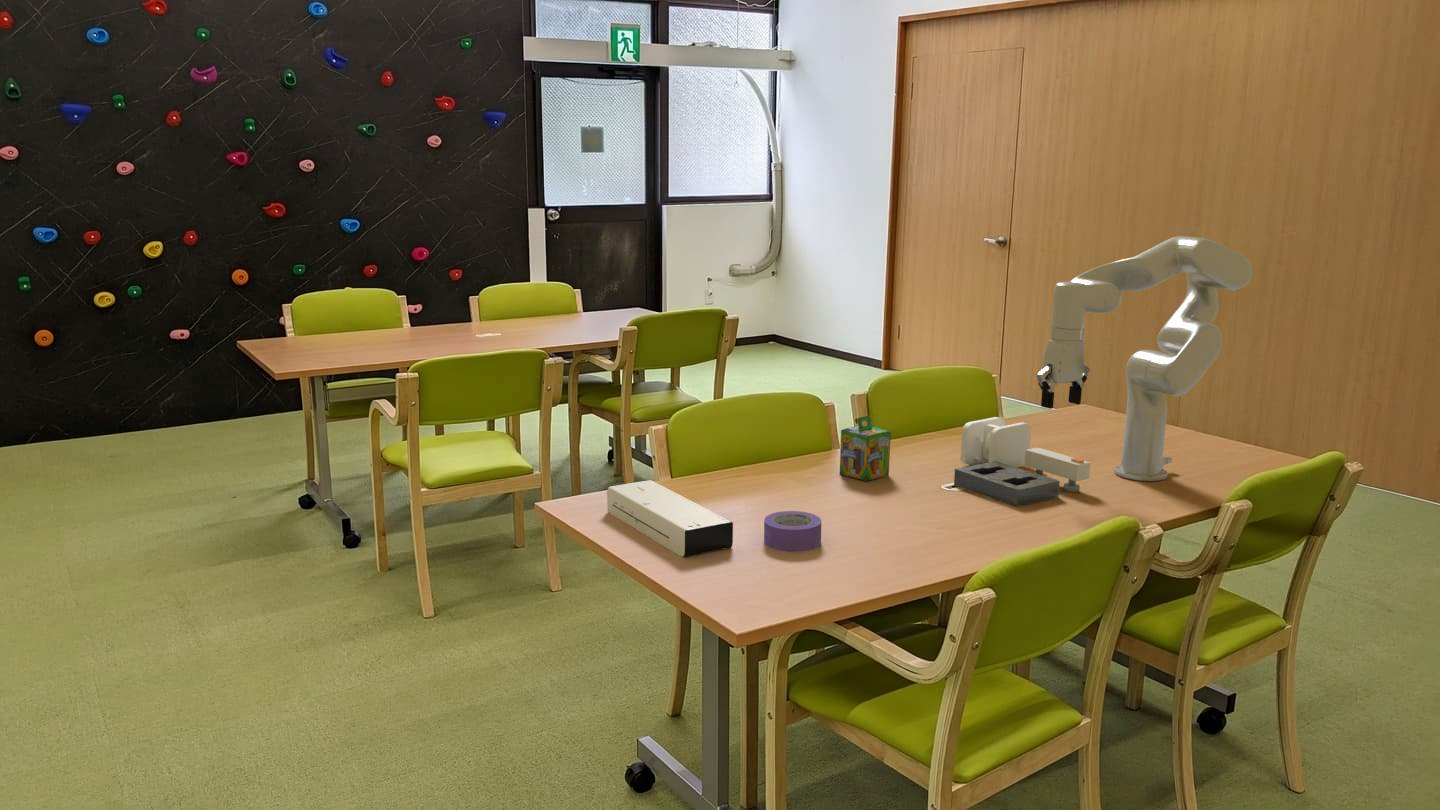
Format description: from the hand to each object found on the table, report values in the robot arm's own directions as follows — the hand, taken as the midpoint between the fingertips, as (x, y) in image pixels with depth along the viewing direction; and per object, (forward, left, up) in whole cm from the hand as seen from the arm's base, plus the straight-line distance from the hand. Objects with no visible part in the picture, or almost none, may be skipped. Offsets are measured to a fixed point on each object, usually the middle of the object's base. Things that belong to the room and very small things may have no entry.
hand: (1060, 405), depth 274 cm
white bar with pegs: (0, 0, -20) cm, 20 cm away
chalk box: (+34, -31, -20) cm, 50 cm away
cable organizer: (0, -20, -20) cm, 28 cm away
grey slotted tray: (+14, -3, -20) cm, 24 cm away
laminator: (+96, -21, -21) cm, 101 cm away
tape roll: (+79, -1, -20) cm, 81 cm away
